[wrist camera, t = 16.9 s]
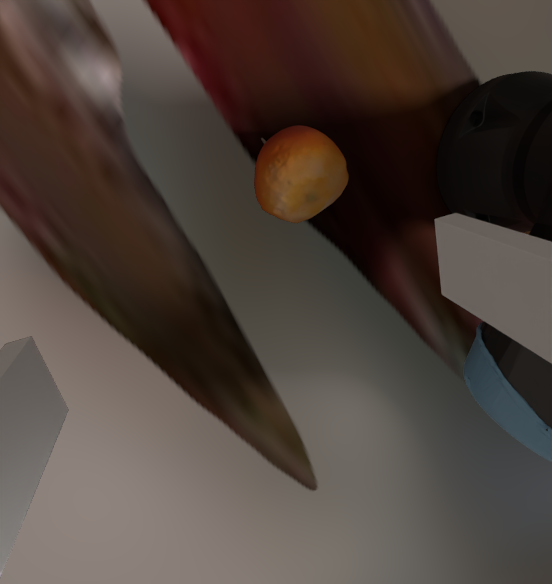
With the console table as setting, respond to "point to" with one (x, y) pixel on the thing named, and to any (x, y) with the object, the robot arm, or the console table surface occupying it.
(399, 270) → the console table surface
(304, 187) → the fruit
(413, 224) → the console table surface
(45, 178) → the console table surface
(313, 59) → the console table surface
